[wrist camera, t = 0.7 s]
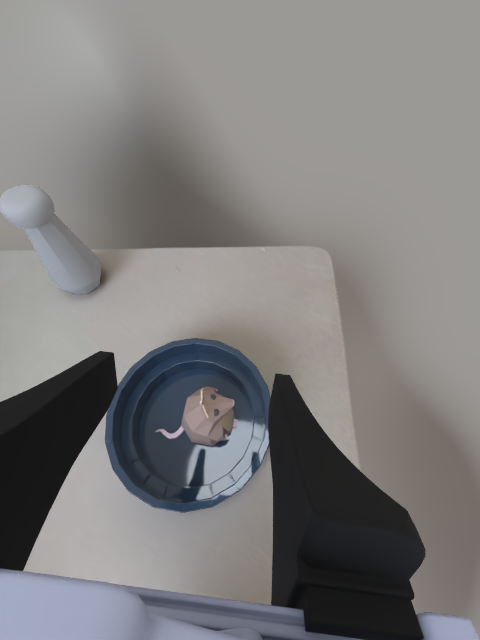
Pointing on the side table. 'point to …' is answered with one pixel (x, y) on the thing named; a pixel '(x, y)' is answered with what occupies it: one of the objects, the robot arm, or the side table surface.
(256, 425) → the bowl
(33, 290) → the side table surface
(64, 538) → the side table surface
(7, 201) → the salt shaker
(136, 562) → the side table surface
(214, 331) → the side table surface
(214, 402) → the mouse figurine
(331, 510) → the robot arm
